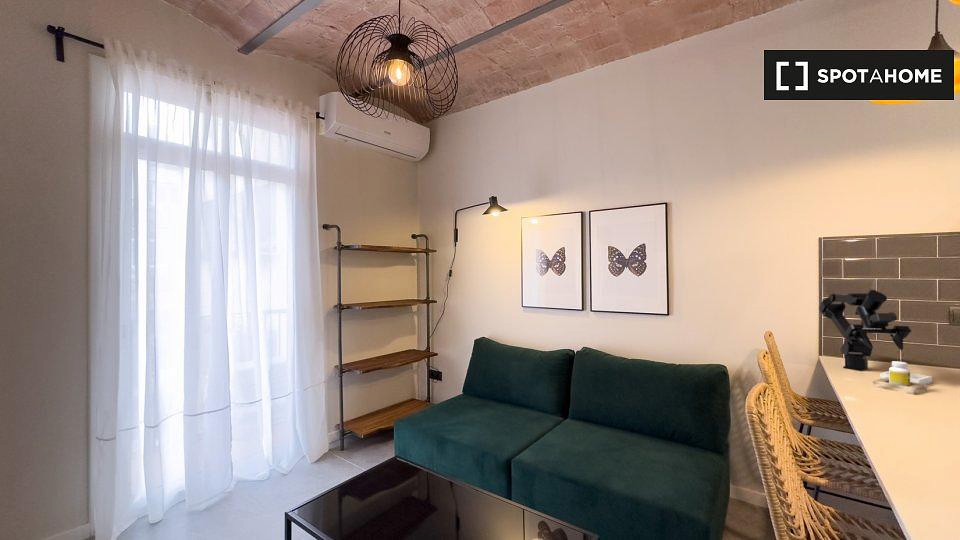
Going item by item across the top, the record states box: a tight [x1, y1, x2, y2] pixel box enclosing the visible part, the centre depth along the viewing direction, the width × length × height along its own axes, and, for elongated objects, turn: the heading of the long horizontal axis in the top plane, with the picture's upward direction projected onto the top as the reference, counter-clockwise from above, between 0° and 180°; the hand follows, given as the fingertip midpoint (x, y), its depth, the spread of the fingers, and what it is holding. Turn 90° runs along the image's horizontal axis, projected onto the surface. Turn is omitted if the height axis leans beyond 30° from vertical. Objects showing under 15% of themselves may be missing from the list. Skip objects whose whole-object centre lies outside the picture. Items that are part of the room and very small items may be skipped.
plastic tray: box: [879, 370, 933, 386], centre depth 155 cm, size 11×11×2 cm
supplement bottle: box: [888, 360, 911, 387], centre depth 147 cm, size 5×5×10 cm
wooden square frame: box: [872, 377, 928, 395], centre depth 147 cm, size 11×11×2 cm
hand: (886, 348), depth 154 cm, fingers open, 9 cm apart
